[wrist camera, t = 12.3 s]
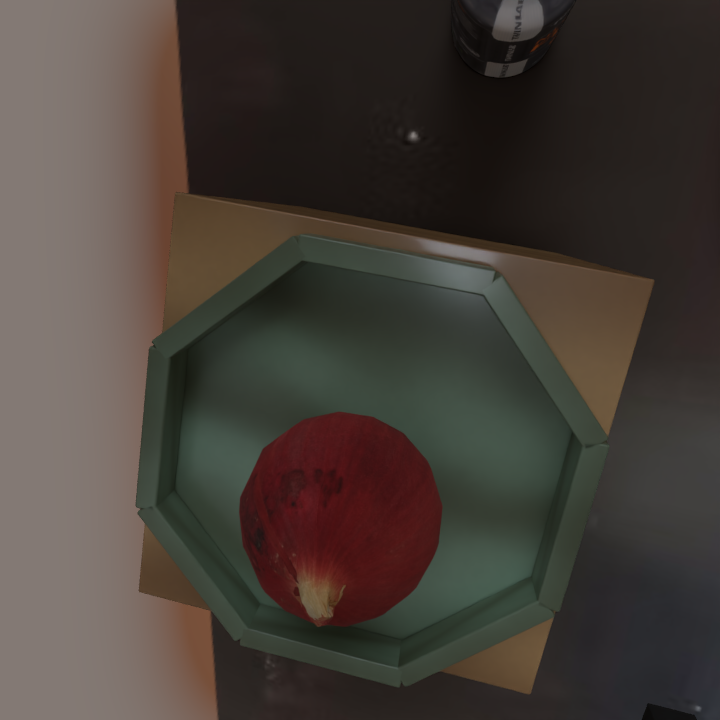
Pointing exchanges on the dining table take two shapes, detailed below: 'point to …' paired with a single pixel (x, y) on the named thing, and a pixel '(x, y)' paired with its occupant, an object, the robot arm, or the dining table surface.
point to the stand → (384, 419)
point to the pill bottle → (506, 32)
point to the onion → (340, 518)
